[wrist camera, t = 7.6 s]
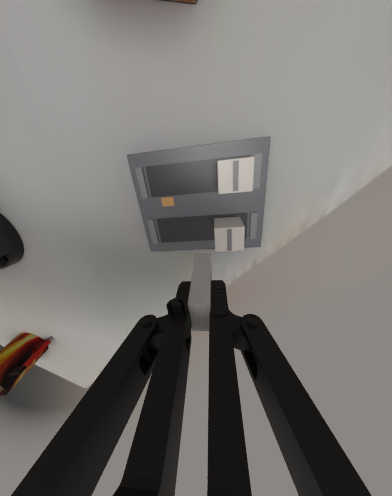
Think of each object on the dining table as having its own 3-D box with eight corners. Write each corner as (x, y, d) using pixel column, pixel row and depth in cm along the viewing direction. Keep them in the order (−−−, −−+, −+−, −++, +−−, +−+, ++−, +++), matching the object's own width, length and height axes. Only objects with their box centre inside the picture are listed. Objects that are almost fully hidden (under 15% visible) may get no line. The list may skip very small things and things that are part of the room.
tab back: (215, 238, 28) (215, 252, 23) (214, 218, 26) (214, 228, 22) (239, 237, 27) (244, 251, 23) (239, 216, 25) (245, 227, 21)
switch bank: (153, 247, 32) (149, 252, 30) (131, 155, 25) (125, 154, 23) (258, 243, 29) (261, 248, 28) (267, 138, 22) (271, 135, 20)
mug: (55, 337, 50) (12, 383, 40) (44, 354, 56) (4, 398, 45) (23, 321, 48) (-30, 365, 38) (16, 341, 54) (-33, 384, 43)
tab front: (217, 189, 24) (218, 194, 20) (216, 161, 22) (217, 160, 18) (245, 186, 23) (252, 191, 19) (246, 158, 22) (254, 156, 17)
